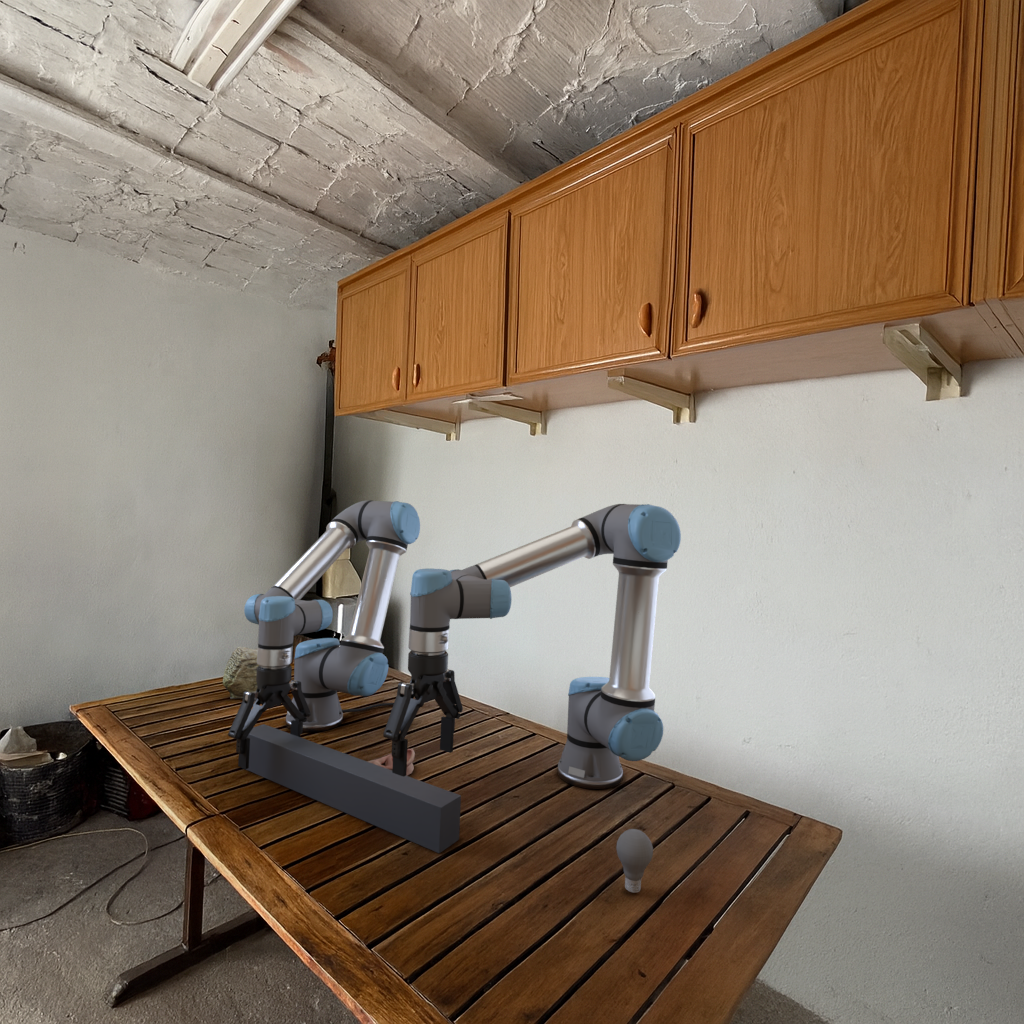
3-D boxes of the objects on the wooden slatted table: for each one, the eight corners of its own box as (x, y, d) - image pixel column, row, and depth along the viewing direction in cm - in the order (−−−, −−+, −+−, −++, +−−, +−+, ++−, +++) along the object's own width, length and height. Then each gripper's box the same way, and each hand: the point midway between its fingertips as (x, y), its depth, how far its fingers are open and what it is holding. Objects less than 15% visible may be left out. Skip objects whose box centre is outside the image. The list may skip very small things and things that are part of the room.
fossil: (218, 695, 195) (220, 647, 195) (278, 685, 208) (279, 640, 207) (228, 703, 189) (230, 653, 188) (289, 692, 201) (290, 645, 201)
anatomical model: (346, 759, 143) (368, 741, 154) (346, 777, 143) (367, 757, 154) (402, 767, 140) (420, 748, 152) (401, 785, 140) (419, 764, 152)
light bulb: (610, 879, 108) (613, 822, 108) (644, 879, 109) (647, 822, 109) (619, 902, 102) (622, 840, 102) (655, 901, 103) (658, 840, 103)
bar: (240, 767, 146) (241, 731, 146) (262, 758, 151) (263, 723, 151) (439, 853, 114) (441, 807, 114) (459, 839, 119) (461, 795, 119)
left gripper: (234, 678, 132) (230, 780, 132) (328, 658, 153) (324, 745, 153) (213, 672, 136) (209, 770, 136) (307, 653, 157) (303, 738, 157)
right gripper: (397, 667, 107) (392, 791, 108) (482, 643, 128) (478, 746, 129) (366, 659, 112) (361, 779, 112) (453, 637, 133) (449, 737, 133)
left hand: (270, 757), depth 145 cm, fingers open, 13 cm apart
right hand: (423, 762), depth 120 cm, fingers open, 13 cm apart
